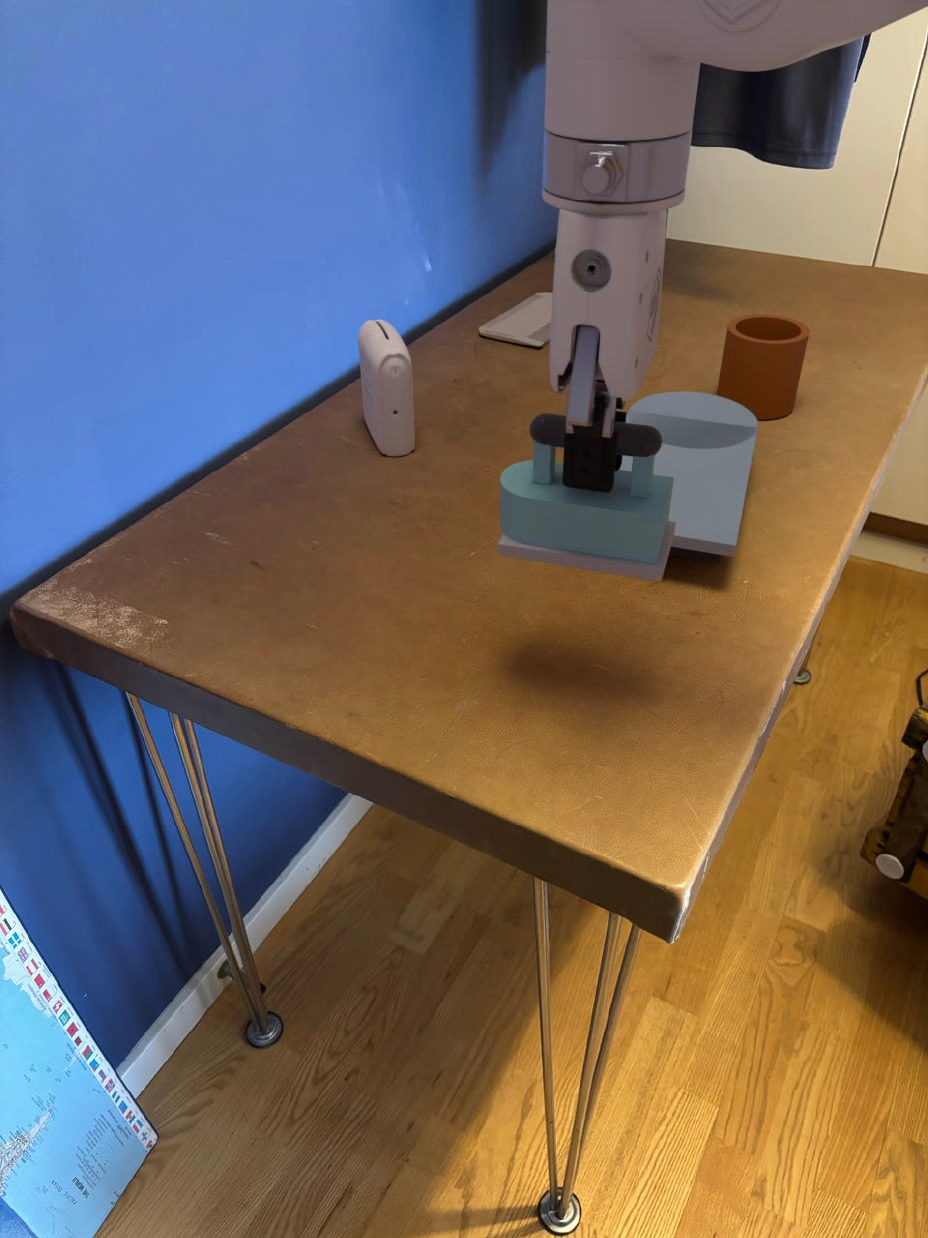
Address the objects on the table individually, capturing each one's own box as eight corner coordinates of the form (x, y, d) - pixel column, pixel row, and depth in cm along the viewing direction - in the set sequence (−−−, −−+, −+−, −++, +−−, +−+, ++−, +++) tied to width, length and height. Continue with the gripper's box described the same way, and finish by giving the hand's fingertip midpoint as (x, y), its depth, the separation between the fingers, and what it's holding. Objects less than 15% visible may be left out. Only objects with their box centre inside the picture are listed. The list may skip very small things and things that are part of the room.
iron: (674, 533, 63) (691, 410, 57) (661, 582, 59) (678, 454, 53) (513, 509, 66) (514, 390, 60) (488, 554, 62) (487, 430, 56)
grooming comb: (538, 349, 119) (538, 343, 118) (472, 334, 123) (472, 329, 123) (600, 307, 131) (601, 301, 131) (539, 294, 135) (539, 289, 135)
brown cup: (810, 387, 110) (828, 313, 104) (780, 427, 102) (798, 349, 96) (737, 372, 113) (751, 299, 108) (703, 409, 105) (716, 333, 100)
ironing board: (754, 443, 99) (763, 400, 96) (726, 593, 78) (736, 545, 75) (635, 426, 102) (640, 384, 99) (577, 566, 81) (581, 519, 78)
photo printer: (420, 454, 98) (415, 342, 90) (381, 460, 97) (372, 347, 89) (397, 413, 105) (390, 307, 98) (360, 418, 104) (351, 311, 97)
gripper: (664, 210, 41) (627, 552, 52) (705, 139, 53) (668, 430, 64) (503, 201, 43) (502, 532, 54) (577, 134, 55) (564, 417, 66)
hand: (592, 475), depth 59 cm, fingers closed on iron
